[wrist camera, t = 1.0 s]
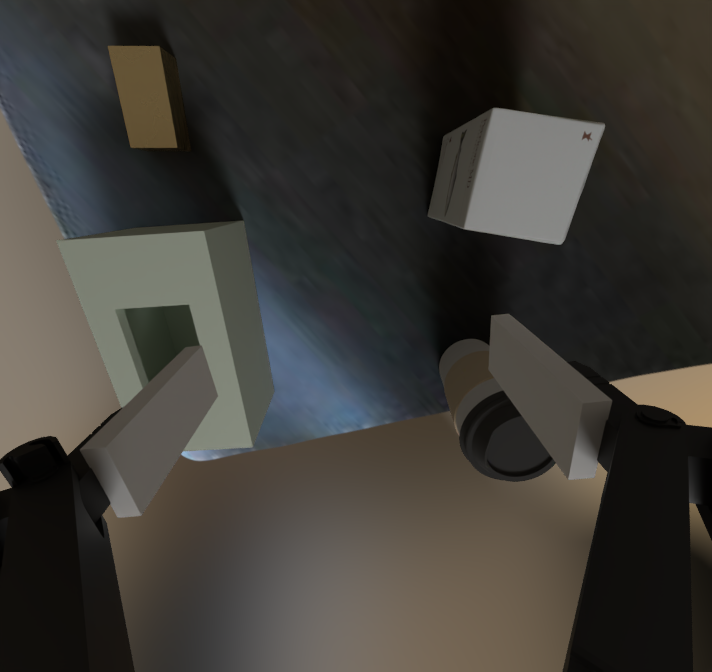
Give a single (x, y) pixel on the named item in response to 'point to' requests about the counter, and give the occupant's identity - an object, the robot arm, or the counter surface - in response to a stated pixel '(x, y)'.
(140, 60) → the tan wooden block
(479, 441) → the coffee cup
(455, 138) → the supplement box
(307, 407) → the counter surface
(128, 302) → the grey box with slot
